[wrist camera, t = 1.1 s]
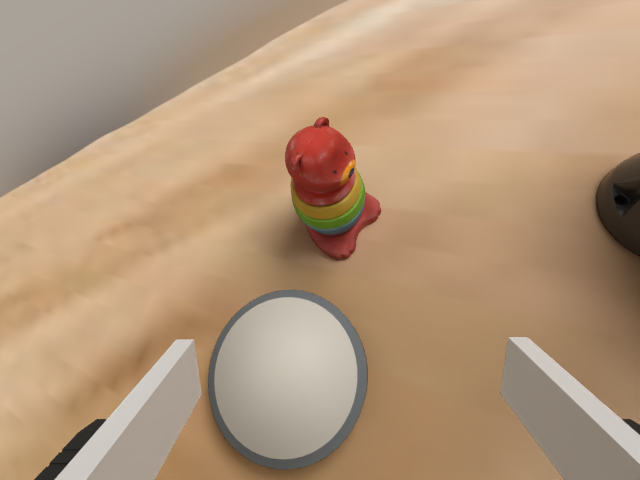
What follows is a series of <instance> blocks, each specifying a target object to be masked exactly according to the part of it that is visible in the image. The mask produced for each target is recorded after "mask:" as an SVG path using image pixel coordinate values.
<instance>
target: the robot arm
mask: <svg viewBox="0 0 640 480" xmlns="http://www.w3.org/2000/svg"><path fill="white" fill-rule="evenodd" d="M597 208H598V212H599V215H600V217H601V219H602V221H603V223H604V225H605V226H606V228H607V229H608V230H609V232H610V233H611V234H612V235H613V236H614V237H615V238H616V239H617V240H618V241H619V242H620V243H621V244H622V245H624V246H625V247H626V248H628V249H629V250H631V251H632V252H634V253H636V254H637V255H639V256H640V153H638V154H636V155H633V156H631V157H630V158H628V159H626V160H625V161H623V162H622V163H620V164H619V165H618V166H617V167H615V168H614V169H613V170H612V171H611V172H609V173H608V174H607V175H606V176H605V178H604V179H603V180H602V182H601V184H600V186H599V188H598V192H597ZM500 394H501V396H502V397H503V398H504V400H505V401H506V402H507V404H508V405H509V406H510V408H511V409H512V410H513V412H514V413H515V414H516V416H517V417H518V418H519V420H520V421H521V422H522V424H523V425H524V426H525V428H526V429H527V430H528V432H529V433H530V434H531V436H532V437H533V438H534V440H535V441H536V443H537V444H538V445H539V447H540V448H541V449H542V451H543V452H544V453H545V455H546V456H547V457H548V459H549V460H550V461H551V463H552V464H553V465H554V467H555V468H556V469H557V471H558V472H559V473H560V475H561V476H562V477H563V479H564V480H640V425H639V424H637V423H636V422H634V421H632V420H631V419H621V418H620V417H618V416H617V415H616V414H615V413H614V412H613V411H612V410H610V409H609V408H608V407H607V406H606V405H605V404H603V403H602V402H601V401H600V400H599V399H598V398H597V397H595V396H594V395H593V394H592V393H591V392H590V391H589V390H587V389H586V388H585V387H584V386H583V385H582V384H581V383H579V382H578V381H577V380H576V379H575V378H574V377H573V376H571V375H570V374H569V373H568V372H567V371H566V370H565V369H563V368H562V367H561V366H560V365H559V364H558V363H556V362H555V361H554V360H553V359H552V358H551V357H550V356H548V355H547V354H546V353H545V352H544V351H543V350H542V349H540V348H539V347H538V346H537V345H536V344H535V343H534V342H532V341H531V340H530V339H529V338H528V337H508V343H507V350H506V357H505V364H504V371H503V378H502V385H501V392H500ZM201 395H202V391H201V385H200V378H199V371H198V364H197V357H196V350H195V343H194V339H192V340H176V341H175V342H174V343H173V344H172V345H171V346H170V347H169V349H168V350H167V351H166V352H165V353H164V354H163V355H162V357H161V358H160V359H159V360H158V361H157V362H156V364H155V365H154V366H153V367H152V368H151V369H150V370H149V372H148V373H147V374H146V375H145V376H144V377H143V378H142V380H141V381H140V382H139V383H138V384H137V385H136V387H135V388H134V389H133V390H132V391H131V392H130V393H129V395H128V396H127V397H126V398H125V399H124V400H123V401H122V403H121V404H120V405H119V406H118V407H117V408H116V410H115V411H114V412H113V413H112V414H111V415H110V416H109V418H108V419H97V420H95V421H94V422H92V423H91V424H90V425H88V426H87V427H85V428H84V429H83V430H81V431H80V432H79V433H77V434H76V436H75V437H74V438H73V439H72V440H71V441H70V442H69V443H68V444H67V445H66V446H65V447H64V448H63V451H62V452H61V453H59V454H58V455H57V456H56V457H55V458H54V459H53V460H52V461H51V462H50V465H49V466H48V467H46V468H45V469H44V470H43V471H42V472H41V473H40V474H39V475H38V476H37V477H36V478H35V479H34V480H155V478H156V476H157V474H158V473H159V471H160V469H161V467H162V465H163V464H164V462H165V460H166V458H167V456H168V454H169V453H170V451H171V449H172V447H173V445H174V444H175V442H176V440H177V438H178V436H179V435H180V433H181V431H182V429H183V427H184V426H185V424H186V422H187V420H188V418H189V416H190V415H191V413H192V411H193V409H194V407H195V406H196V404H197V402H198V400H199V398H200V397H201Z"/></svg>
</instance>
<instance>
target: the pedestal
mask: <svg viewBox="0 0 640 480" xmlns="http://www.w3.org/2000/svg"><path fill="white" fill-rule="evenodd" d="M367 381H368V368H367V361H366V355H365V351H364V348H363V345H362V342H361V340H360V337H359V335H358V334H357V332H356V330H355V328H354V327H353V325H352V324H351V323H350V321H349V320H348V319H347V318H346V316H345V315H344V314H343V313H342V312H341V311H340V310H339V309H338V308H337V307H335V306H334V305H333V304H331V303H330V302H329V301H327V300H325V299H323V298H322V297H320V296H317V295H315V294H312V293H309V292H305V291H298V290H282V291H275V292H271V293H268V294H265V295H263V296H260V297H258V298H256V299H254V300H253V301H251V302H249V303H248V304H247V305H245V306H244V307H243V308H241V309H240V310H239V311H238V312H237V313H236V314H235V315H234V316H233V317H232V318H231V320H230V321H229V322H228V323H227V325H226V326H225V328H224V329H223V331H222V332H221V334H220V336H219V338H218V340H217V343H216V345H215V348H214V350H213V354H212V358H211V361H210V367H209V376H208V389H209V398H210V404H211V408H212V411H213V415H214V418H215V420H216V422H217V424H218V427H219V429H220V430H221V432H222V433H223V435H224V437H225V438H226V439H227V441H228V442H229V443H230V444H231V445H232V447H233V448H234V449H236V450H237V451H238V452H239V453H240V454H241V455H243V456H244V457H246V458H247V459H249V460H250V461H252V462H254V463H256V464H259V465H261V466H264V467H268V468H272V469H281V470H288V469H297V468H302V467H306V466H309V465H311V464H314V463H316V462H318V461H320V460H321V459H323V458H325V457H326V456H328V455H329V454H330V453H332V452H333V451H334V450H335V449H336V448H338V446H339V445H340V444H341V443H342V442H343V441H344V440H345V439H346V437H347V436H348V434H349V433H350V432H351V430H352V429H353V427H354V425H355V423H356V421H357V419H358V417H359V414H360V411H361V408H362V406H363V403H364V399H365V395H366V390H367Z"/></svg>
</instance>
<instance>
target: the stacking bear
mask: <svg viewBox="0 0 640 480" xmlns="http://www.w3.org/2000/svg"><path fill="white" fill-rule="evenodd" d="M285 162H286V167H287V170H288V172H289V174H290V176H291V177H292V178H291V194H292V201H293V205H294V208H295V210H296V212H297V214H298V216H299V217H300V219H301V220H302V221H303V222H304V223H305V224H306V226H307V229H308V232H309V234H310V236H311V238H312V239H313V241H314V242H315V243H316V245H317V246H318V247H319V248H320V249H321V250H322V251H324V252H325V253H326V254H328V255H329V256H331V257H333V258H335V259H338V260H340V259H342V258H348V257H349V256H350V254H351V253H353V252H354V251H355V247H356V239H357V236H358V233H359V232H360V231H361V229H362V228H363V227H364V226H366V225H368V224H370V223H372V222H374V221H375V220H377V218H378V215H379V214H380V213H381V208H380V204H379V202H378V200H377V199H375V198H374V197H372V196H371V195H369V194H367V193H365V187H364V183H363V181H362V178H361V176H360V174H359V172H358V171H357V169H356V168H355V164H356V161H355V154H354V151H353V148H352V147H351V145H350V143H349V142H348V140H347V139H346V138H345V137H344V136H343V135H342V134H341V133H340V132H338V131H337V130H335V129H333V128H331V127H329V120H328V118H326V117H321V118H319V119H317V120H316V122H315V124H314V126H309V127H306V128H304V129H302V130H300V131H298V132H297V133H296V134H295V135H294V136H293V137H292V138H291V139H290V141H289V143H288V145H287V148H286V152H285Z"/></svg>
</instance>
